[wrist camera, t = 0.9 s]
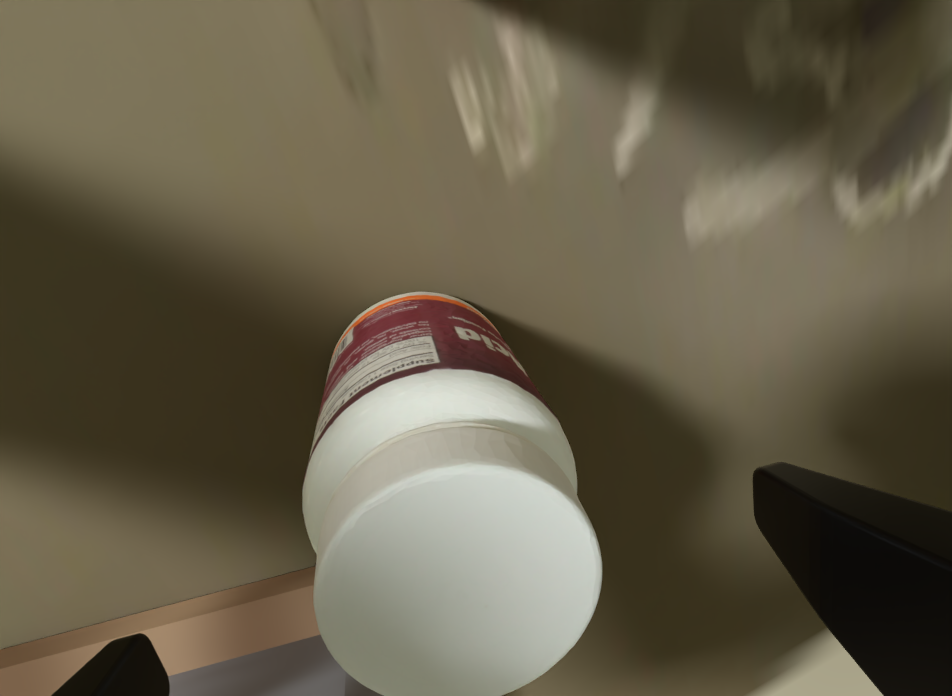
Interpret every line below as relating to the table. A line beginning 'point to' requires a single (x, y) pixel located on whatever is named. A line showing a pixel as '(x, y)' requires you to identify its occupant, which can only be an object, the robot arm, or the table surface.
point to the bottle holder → (205, 646)
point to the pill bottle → (443, 508)
